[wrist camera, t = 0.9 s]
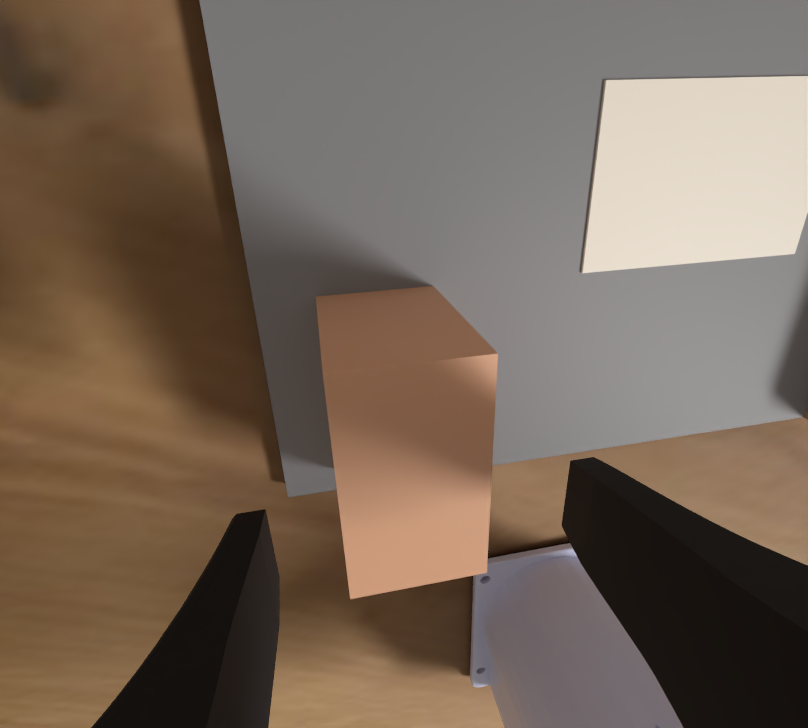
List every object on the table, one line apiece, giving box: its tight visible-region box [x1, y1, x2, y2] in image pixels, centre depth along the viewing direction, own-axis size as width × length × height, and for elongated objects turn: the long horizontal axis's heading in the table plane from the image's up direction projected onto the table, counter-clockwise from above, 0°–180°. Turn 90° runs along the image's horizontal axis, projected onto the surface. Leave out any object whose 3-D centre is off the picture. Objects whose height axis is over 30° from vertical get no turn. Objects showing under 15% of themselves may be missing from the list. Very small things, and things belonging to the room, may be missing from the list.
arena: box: [199, 0, 808, 497], centre depth 16 cm, size 20×26×4 cm
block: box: [316, 286, 498, 599], centre depth 15 cm, size 7×4×6 cm, turn 2°
